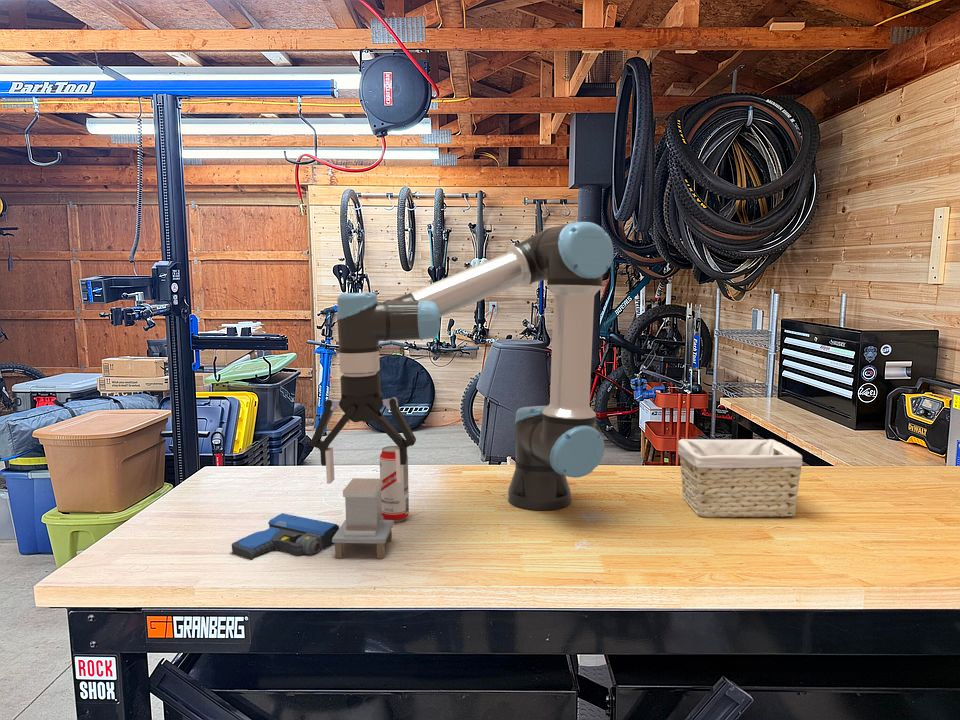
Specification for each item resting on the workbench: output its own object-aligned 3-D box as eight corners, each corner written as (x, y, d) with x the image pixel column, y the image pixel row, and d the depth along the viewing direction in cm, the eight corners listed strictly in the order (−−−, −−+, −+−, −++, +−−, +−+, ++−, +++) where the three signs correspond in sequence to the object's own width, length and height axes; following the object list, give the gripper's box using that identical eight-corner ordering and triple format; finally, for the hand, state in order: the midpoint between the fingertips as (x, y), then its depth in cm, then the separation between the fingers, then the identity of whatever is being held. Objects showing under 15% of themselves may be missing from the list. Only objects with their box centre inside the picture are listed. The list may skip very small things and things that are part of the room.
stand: (394, 538, 129) (393, 520, 129) (384, 559, 120) (384, 539, 119) (345, 538, 130) (345, 519, 129) (332, 558, 120) (332, 538, 120)
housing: (375, 536, 120) (374, 491, 119) (344, 536, 120) (342, 490, 119) (383, 521, 128) (382, 478, 127) (354, 521, 128) (352, 478, 127)
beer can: (403, 524, 137) (402, 452, 136) (376, 522, 139) (375, 451, 137) (412, 514, 144) (411, 445, 142) (386, 512, 145) (385, 444, 143)
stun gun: (288, 556, 115) (340, 521, 128) (226, 541, 122) (282, 509, 135) (290, 576, 116) (342, 540, 129) (229, 561, 123) (284, 527, 136)
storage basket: (693, 519, 140) (695, 454, 139) (674, 496, 156) (675, 437, 155) (803, 520, 139) (806, 455, 137) (772, 496, 155) (775, 438, 154)
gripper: (427, 369, 124) (431, 474, 127) (302, 372, 125) (308, 476, 128) (422, 375, 117) (426, 486, 119) (289, 377, 118) (296, 487, 120)
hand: (365, 481), depth 123 cm, fingers open, 13 cm apart
